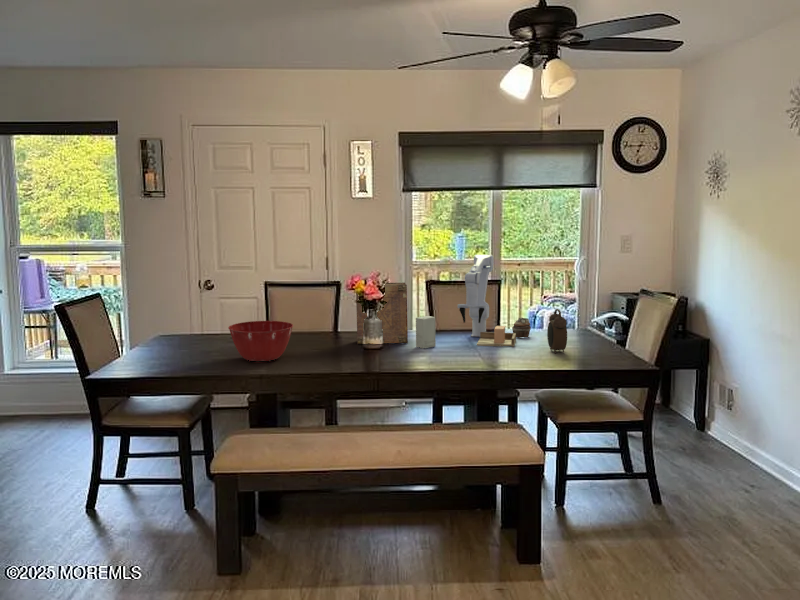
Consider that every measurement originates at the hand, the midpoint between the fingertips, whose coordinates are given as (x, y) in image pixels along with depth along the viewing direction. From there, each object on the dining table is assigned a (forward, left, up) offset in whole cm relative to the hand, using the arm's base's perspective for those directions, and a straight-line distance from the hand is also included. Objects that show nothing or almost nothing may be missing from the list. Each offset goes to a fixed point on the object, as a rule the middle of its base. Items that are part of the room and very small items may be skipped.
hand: (471, 322), depth 328 cm
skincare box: (+20, -20, -10) cm, 30 cm away
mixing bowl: (+61, -87, -10) cm, 107 cm away
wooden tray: (+4, +13, -9) cm, 17 cm away
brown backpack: (+20, +42, -10) cm, 47 cm away
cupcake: (-16, +24, -10) cm, 30 cm away
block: (+5, +15, -8) cm, 17 cm away
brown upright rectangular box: (+13, -44, -10) cm, 47 cm away
